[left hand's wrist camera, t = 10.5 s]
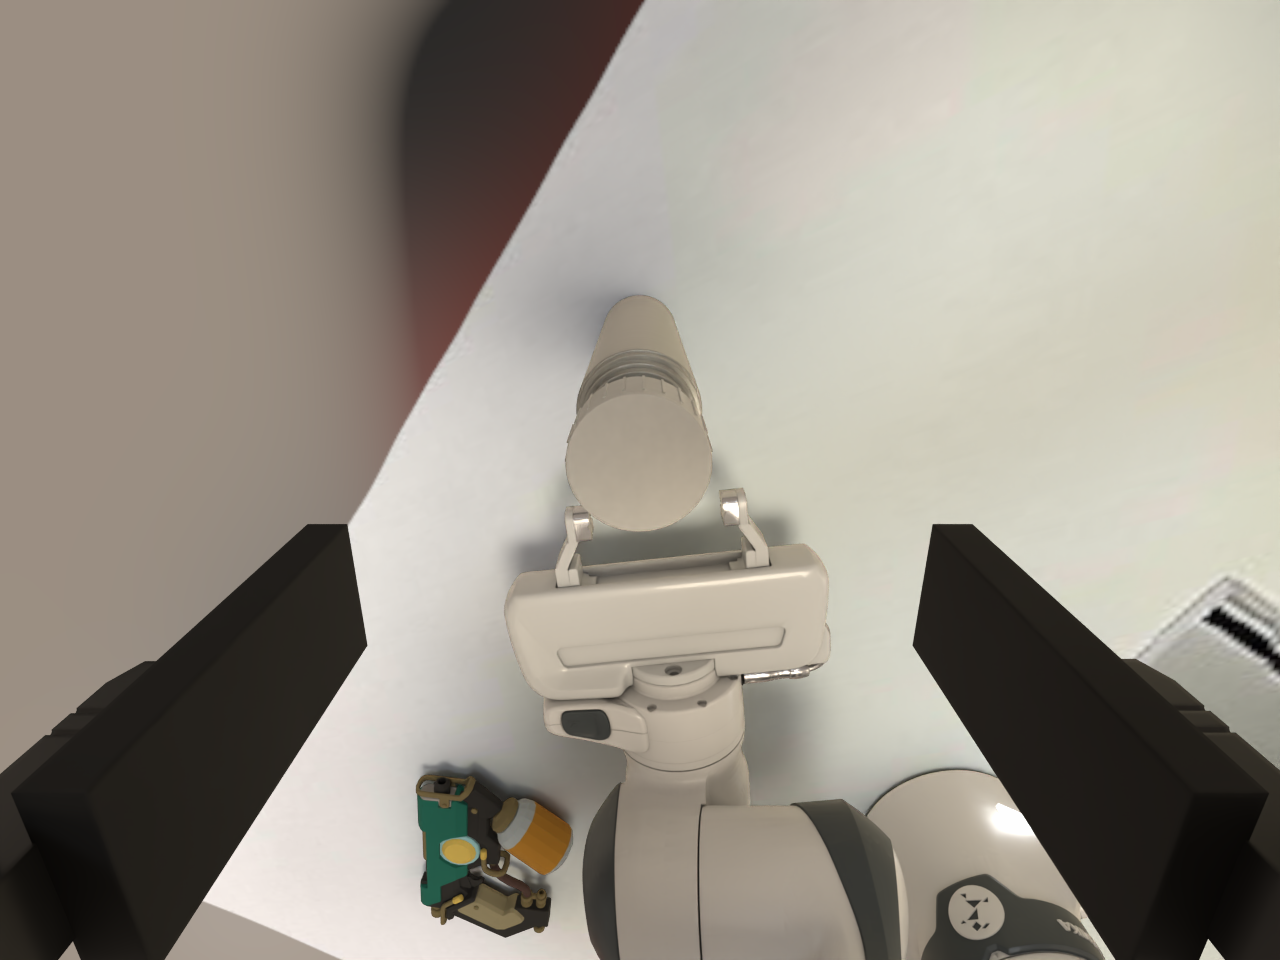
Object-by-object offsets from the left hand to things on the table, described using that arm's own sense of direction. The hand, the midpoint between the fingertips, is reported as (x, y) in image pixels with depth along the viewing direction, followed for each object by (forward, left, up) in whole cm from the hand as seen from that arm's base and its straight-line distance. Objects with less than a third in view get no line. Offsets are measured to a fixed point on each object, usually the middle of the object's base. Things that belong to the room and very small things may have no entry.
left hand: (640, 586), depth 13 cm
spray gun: (+44, +13, -33) cm, 57 cm away
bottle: (0, 0, -33) cm, 33 cm away
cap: (0, 0, -7) cm, 7 cm away
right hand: (+7, +6, -26) cm, 28 cm away
